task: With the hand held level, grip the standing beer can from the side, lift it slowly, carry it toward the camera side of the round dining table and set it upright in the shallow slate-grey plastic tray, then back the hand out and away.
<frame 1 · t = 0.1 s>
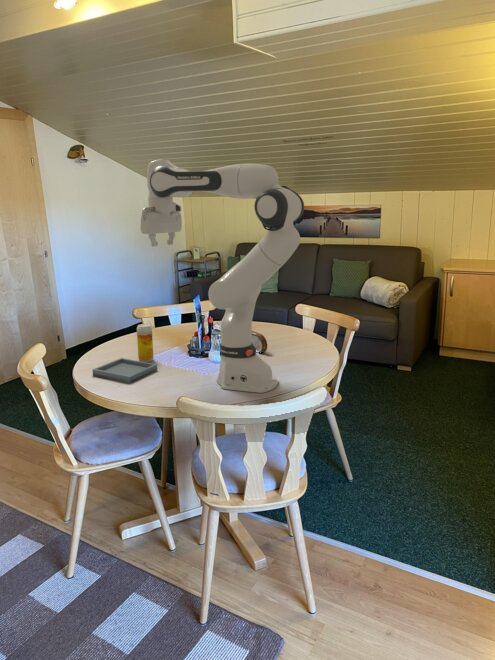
hand: (162, 245, 178), 48 cm above the table, tool pointing down, fingers open, 8 cm apart
beer can: (146, 360, 200), on the table
tray: (125, 373, 185), on the table
tin: (254, 351, 213), on the table
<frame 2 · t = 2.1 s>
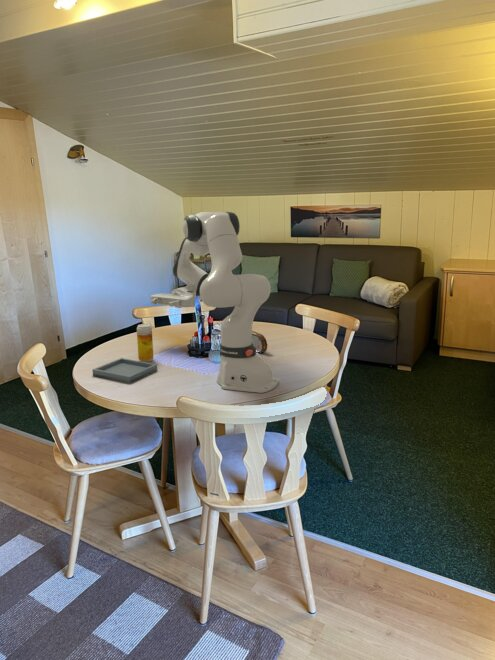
hand: (161, 303, 205), 22 cm above the table, tool horizontal, fingers open, 8 cm apart
nothing on the table moved.
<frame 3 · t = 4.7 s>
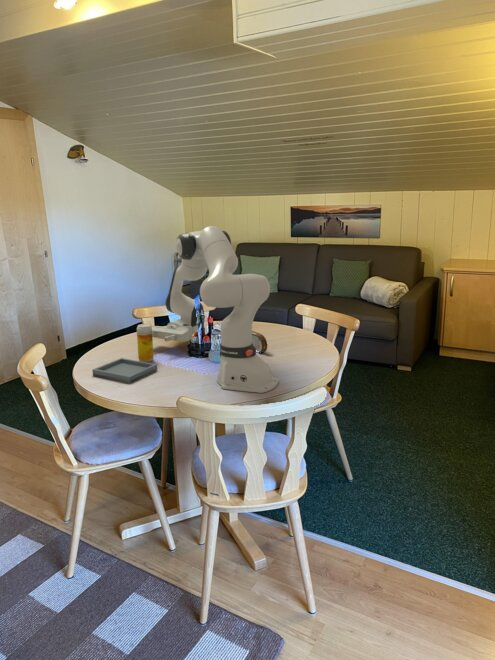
hand: (156, 337, 205), 8 cm above the table, tool horizontal, fingers open, 8 cm apart
nothing on the table moved.
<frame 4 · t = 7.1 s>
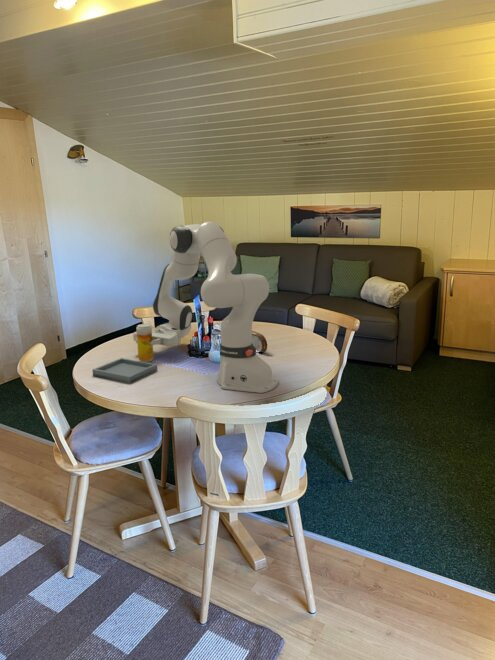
hand: (143, 342, 197), 8 cm above the table, tool horizontal, fingers closed on beer can, 6 cm apart
beer can: (146, 360, 200), on the table, touching gripper
everything else where it was.
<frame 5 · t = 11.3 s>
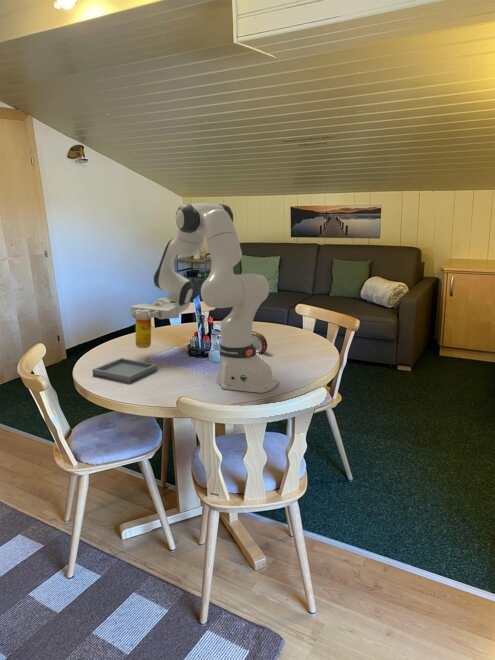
hand: (141, 314, 194), 20 cm above the table, tool horizontal, fingers closed on beer can, 5 cm apart
beer can: (143, 347, 197), point 6 cm above the table, touching gripper
everything else where it was.
when the fingers open (11 cm above the table, at t = 15.7 s): beer can stays where it is, resting on tray.
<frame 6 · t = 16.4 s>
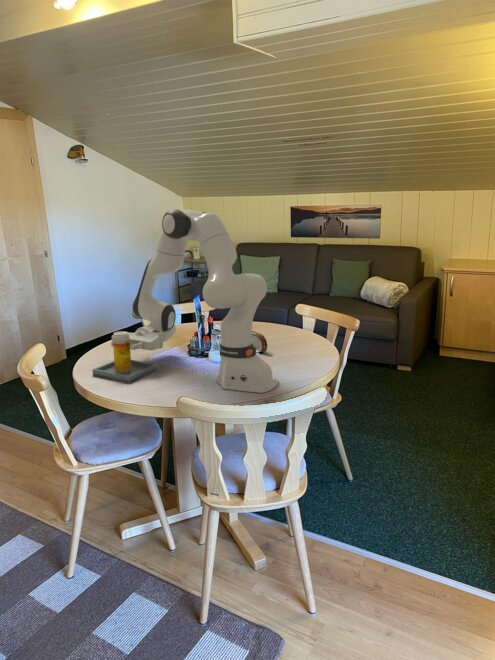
hand: (122, 346, 182), 11 cm above the table, tool horizontal, fingers open, 8 cm apart
beer can: (123, 371, 185), point 1 cm above the table, touching tray
everything else where it was.
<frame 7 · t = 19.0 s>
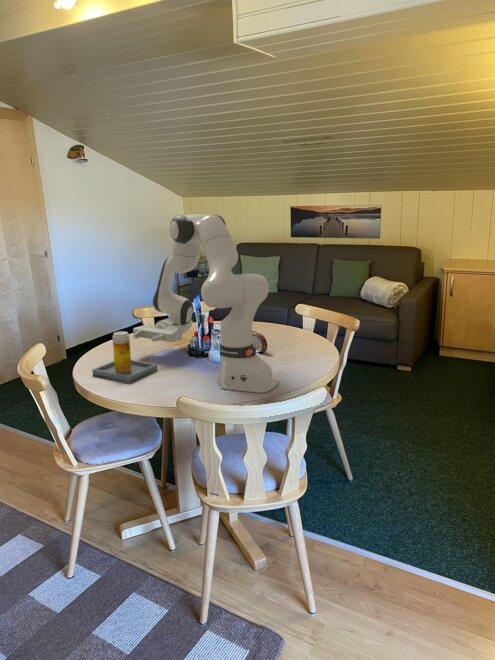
hand: (144, 338, 193), 11 cm above the table, tool horizontal, fingers open, 8 cm apart
nothing on the table moved.
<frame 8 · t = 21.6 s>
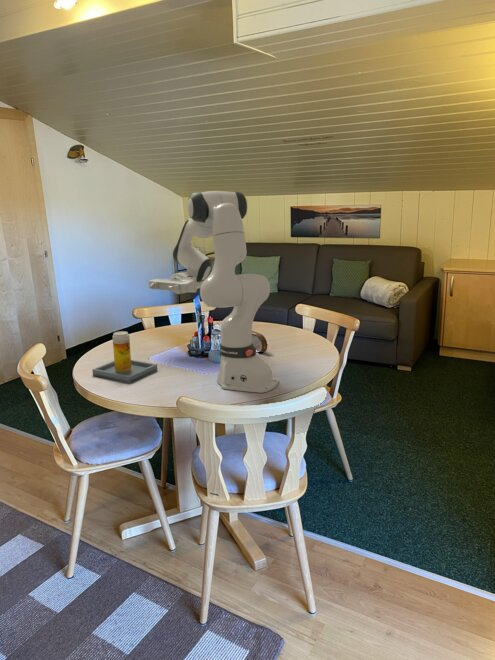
hand: (159, 288, 195), 30 cm above the table, tool horizontal, fingers open, 8 cm apart
nothing on the table moved.
at the end: beer can inside the target area on the tray (0.8 cm from its centre), point 0.8 cm above the tray's base; beer can tilted 0°; the gripper is holding nothing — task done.
